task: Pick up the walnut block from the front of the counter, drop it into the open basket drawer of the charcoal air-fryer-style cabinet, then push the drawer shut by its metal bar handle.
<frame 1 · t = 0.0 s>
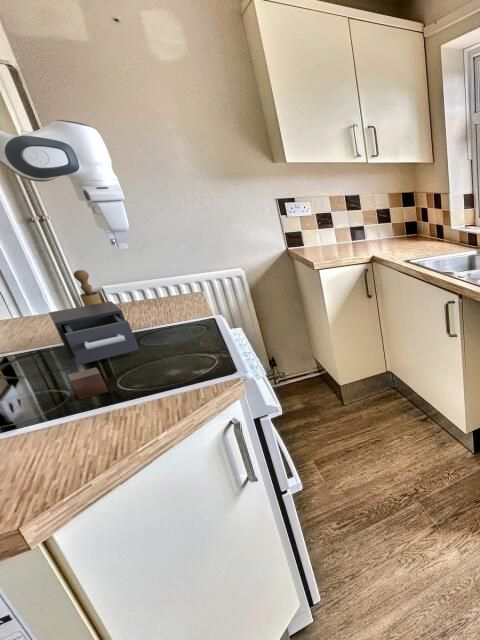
hand: (120, 247, 113), 25 cm above the worktop, tool pointing down, fingers open, 8 cm apart
cabinet: (99, 344, 115), on the worktop
block: (92, 392, 89), on the worktop
mortar and pestle: (104, 330, 126), on the worktop
drawer: (101, 338, 105), point 5 cm above the worktop, slide at 9.0 cm
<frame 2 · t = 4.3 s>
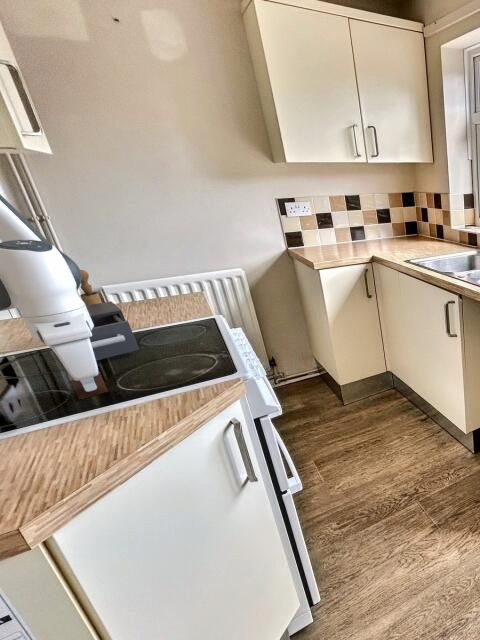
hand: (89, 385, 89), 2 cm above the worktop, tool pointing down, fingers closed on block, 4 cm apart
block: (92, 392, 89), on the worktop, touching gripper
everything else where it was.
when the fingers open (8 cm above the worktop, at t = 10.9 s): block drops 4 cm, resting on drawer.
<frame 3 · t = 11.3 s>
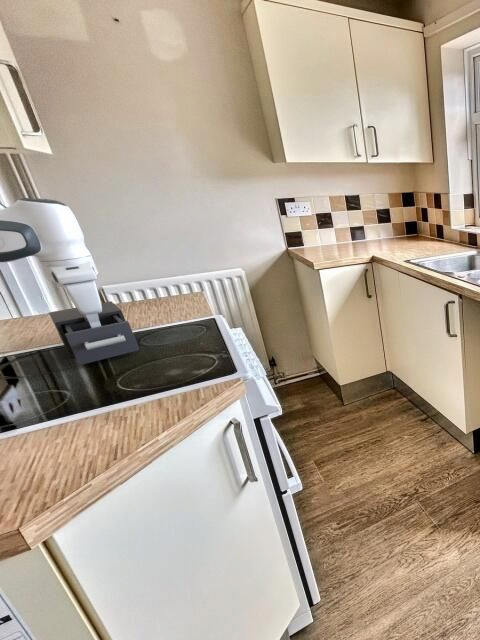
hand: (93, 324, 105), 8 cm above the worktop, tool pointing down, fingers open, 6 cm apart
block: (104, 347, 107), point 2 cm above the worktop, touching drawer
drawer: (101, 339, 105), point 5 cm above the worktop, slide at 9.3 cm, touching block
everything else where it was.
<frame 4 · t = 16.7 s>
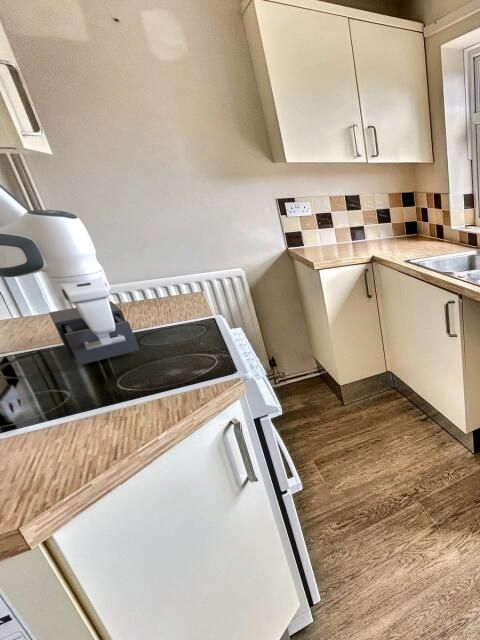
hand: (106, 343, 99), 6 cm above the worktop, tool pointing down, fingers closed
drawer: (101, 339, 105), point 5 cm above the worktop, slide at 9.3 cm, touching block, gripper
everything else where it was.
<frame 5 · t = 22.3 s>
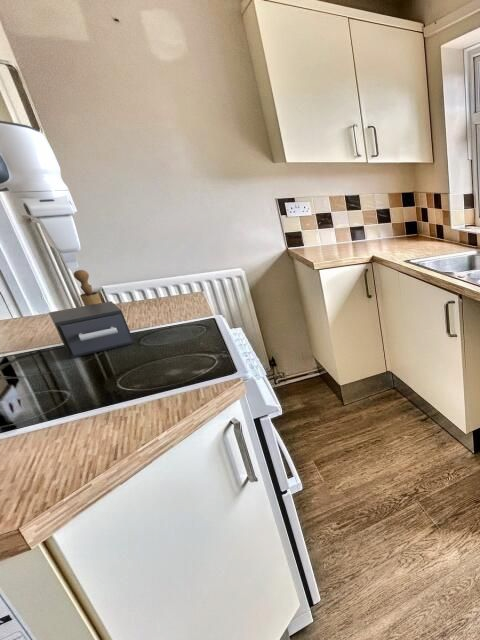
hand: (73, 268, 96), 23 cm above the worktop, tool pointing down, fingers closed
block: (97, 339, 113), point 2 cm above the worktop, touching drawer
drawer: (94, 331, 111), point 5 cm above the worktop, slide at 0.0 cm, touching block, cabinet
everything else where it was.
at the end: block inside the target area in the cabinet (2.3 cm from its centre), point 2.0 cm above the cabinet's base; drawer slide at 0.0 cm; the gripper is holding nothing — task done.
